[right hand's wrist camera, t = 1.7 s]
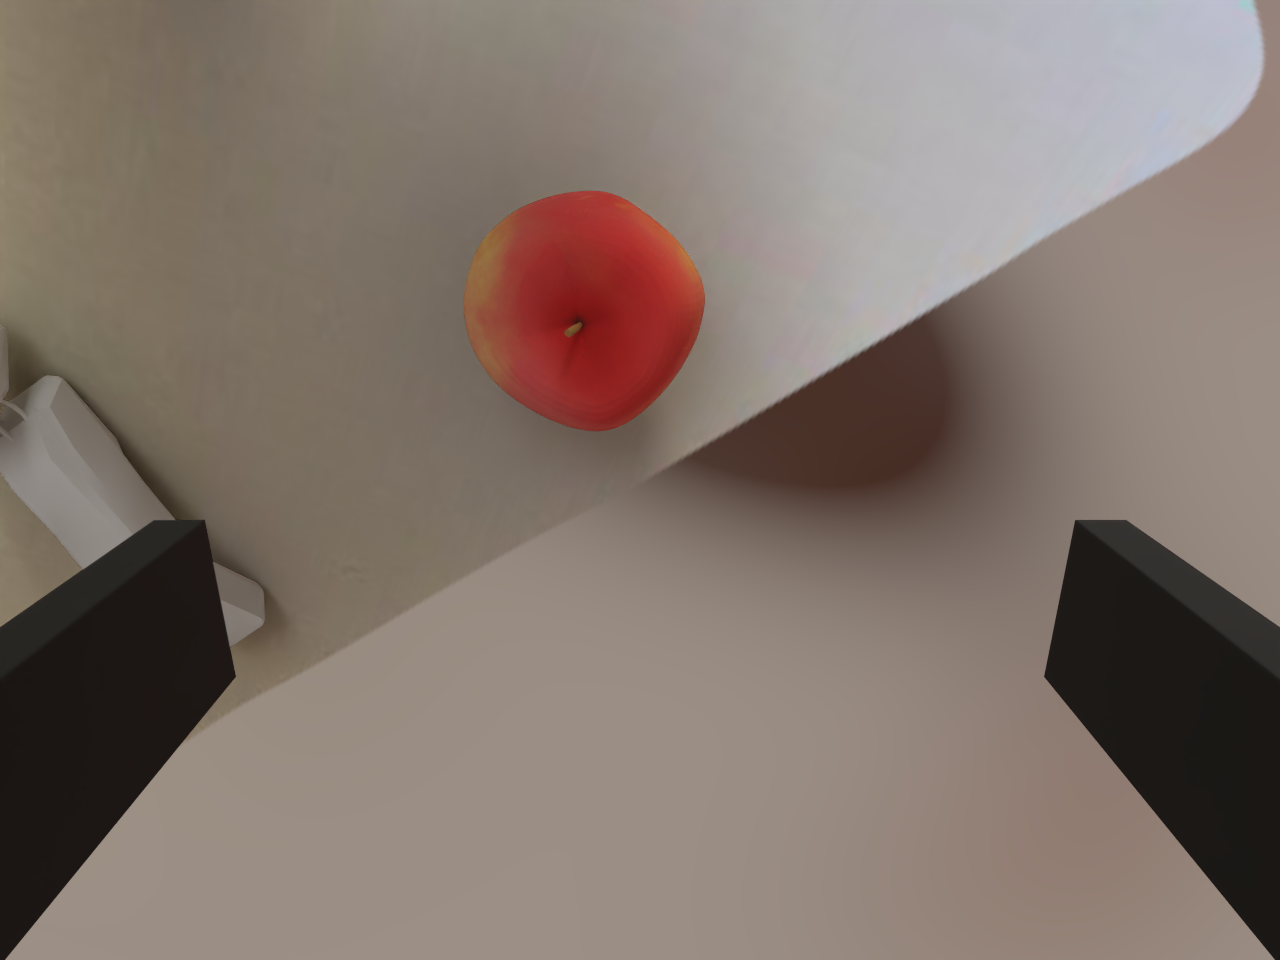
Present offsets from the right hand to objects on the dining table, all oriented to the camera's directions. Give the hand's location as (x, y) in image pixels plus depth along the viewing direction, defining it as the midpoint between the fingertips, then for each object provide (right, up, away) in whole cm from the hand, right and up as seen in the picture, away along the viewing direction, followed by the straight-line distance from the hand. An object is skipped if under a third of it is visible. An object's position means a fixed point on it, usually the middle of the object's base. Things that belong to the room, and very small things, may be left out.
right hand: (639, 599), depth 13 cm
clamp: (-26, +2, +29) cm, 40 cm away
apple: (-2, +11, +26) cm, 28 cm away
